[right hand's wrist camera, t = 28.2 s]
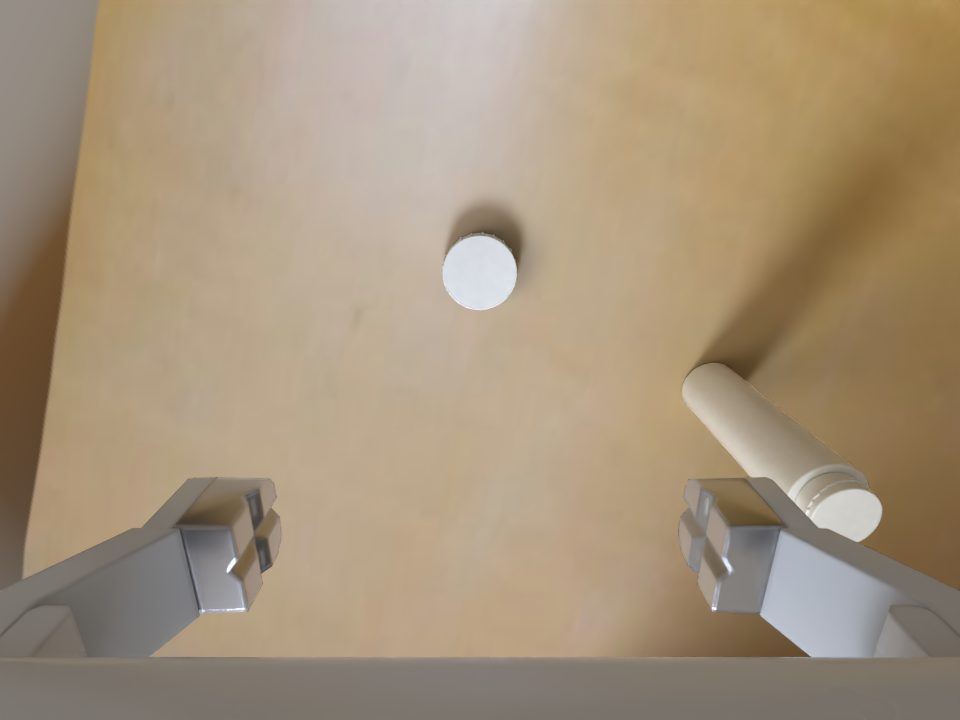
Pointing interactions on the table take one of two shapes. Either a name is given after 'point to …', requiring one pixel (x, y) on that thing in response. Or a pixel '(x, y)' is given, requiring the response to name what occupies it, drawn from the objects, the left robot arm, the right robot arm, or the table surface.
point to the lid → (479, 271)
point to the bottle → (782, 451)
